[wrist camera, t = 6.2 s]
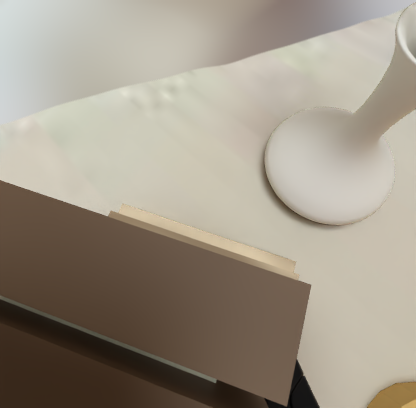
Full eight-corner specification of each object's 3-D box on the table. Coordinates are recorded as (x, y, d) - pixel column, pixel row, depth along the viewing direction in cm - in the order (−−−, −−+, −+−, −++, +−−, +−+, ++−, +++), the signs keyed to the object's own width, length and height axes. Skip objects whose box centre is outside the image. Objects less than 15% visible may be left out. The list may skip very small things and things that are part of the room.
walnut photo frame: (217, 330, 15) (255, 567, 3) (124, 296, 15) (-193, 361, 3) (231, 280, 15) (311, 284, 3) (143, 249, 16) (-53, 162, 4)
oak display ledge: (260, 377, 19) (271, 398, 16) (85, 309, 20) (61, 315, 17) (288, 263, 21) (302, 260, 18) (129, 209, 23) (116, 198, 20)
